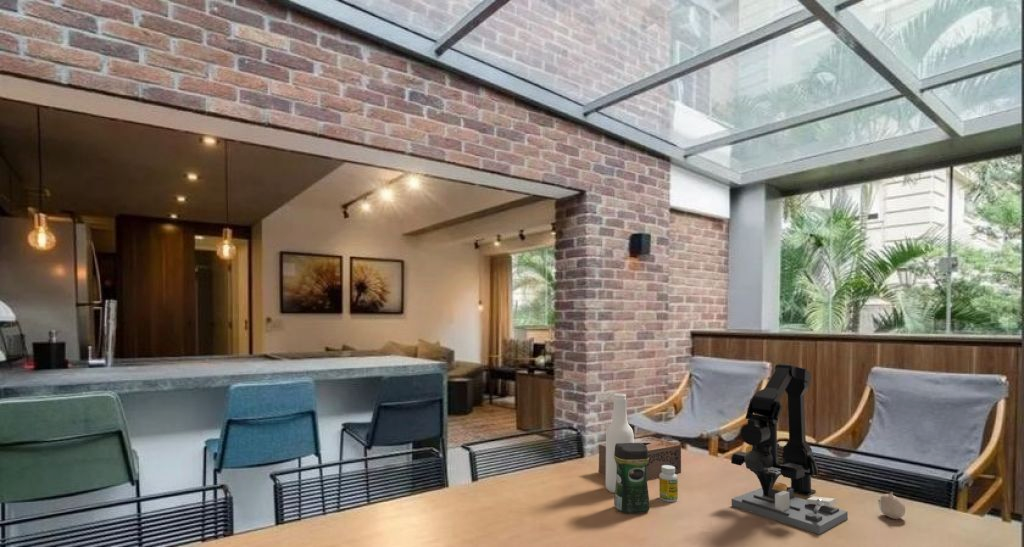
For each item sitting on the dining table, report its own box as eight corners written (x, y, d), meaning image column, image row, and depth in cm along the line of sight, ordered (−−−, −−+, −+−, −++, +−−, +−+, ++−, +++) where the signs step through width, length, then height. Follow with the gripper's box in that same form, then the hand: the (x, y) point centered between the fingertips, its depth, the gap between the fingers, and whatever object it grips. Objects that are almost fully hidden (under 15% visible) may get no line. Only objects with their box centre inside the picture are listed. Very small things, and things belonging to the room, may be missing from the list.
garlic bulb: (873, 514, 147) (872, 486, 147) (887, 511, 149) (886, 483, 150) (898, 523, 141) (897, 493, 141) (912, 520, 143) (911, 491, 144)
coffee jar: (641, 503, 152) (641, 439, 153) (653, 514, 144) (653, 446, 145) (610, 505, 150) (610, 440, 152) (620, 515, 142) (620, 447, 144)
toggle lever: (812, 509, 138) (819, 496, 137) (819, 514, 137) (826, 501, 136) (809, 511, 137) (816, 498, 136) (816, 516, 136) (823, 502, 135)
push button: (774, 491, 158) (774, 481, 158) (789, 495, 154) (789, 485, 154) (767, 494, 155) (767, 483, 155) (782, 498, 151) (782, 487, 152)
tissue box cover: (650, 463, 195) (650, 436, 195) (681, 473, 182) (680, 445, 183) (598, 473, 181) (598, 444, 182) (628, 485, 169) (628, 454, 170)
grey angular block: (783, 506, 146) (783, 490, 146) (789, 508, 145) (789, 492, 145) (775, 510, 143) (774, 493, 143) (781, 512, 142) (780, 495, 142)
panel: (762, 493, 162) (762, 479, 163) (847, 518, 143) (847, 502, 144) (731, 505, 151) (731, 490, 152) (819, 534, 132) (819, 516, 133)
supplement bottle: (667, 495, 160) (667, 463, 160) (681, 500, 155) (681, 467, 156) (655, 498, 157) (655, 465, 157) (669, 503, 152) (669, 470, 153)
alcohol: (635, 487, 166) (635, 393, 168) (632, 496, 158) (632, 397, 160) (607, 483, 169) (608, 391, 171) (603, 492, 161) (604, 395, 163)
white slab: (813, 500, 148) (812, 496, 149) (836, 503, 144) (835, 498, 144) (807, 503, 146) (806, 499, 146) (830, 506, 141) (829, 501, 142)
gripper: (720, 436, 151) (721, 491, 150) (786, 451, 136) (787, 511, 135) (740, 432, 158) (741, 484, 157) (804, 445, 143) (806, 503, 142)
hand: (767, 495), depth 147 cm, fingers closed
